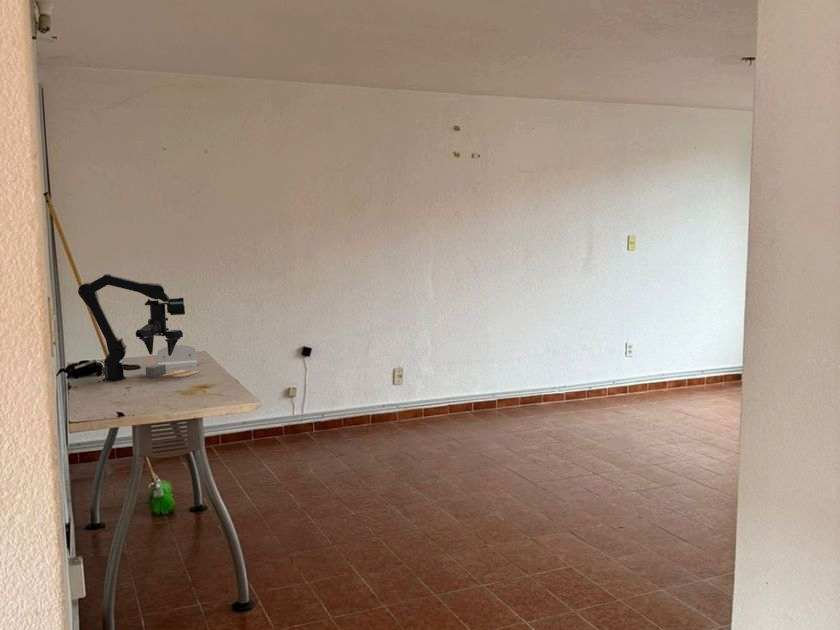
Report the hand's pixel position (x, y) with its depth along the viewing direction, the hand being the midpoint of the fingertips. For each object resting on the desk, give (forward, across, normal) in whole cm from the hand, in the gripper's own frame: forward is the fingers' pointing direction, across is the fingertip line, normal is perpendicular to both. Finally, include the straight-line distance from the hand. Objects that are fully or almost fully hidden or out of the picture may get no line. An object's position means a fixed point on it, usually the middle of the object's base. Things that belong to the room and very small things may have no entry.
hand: (160, 355), depth 315 cm
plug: (+6, -1, +1) cm, 7 cm away
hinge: (+9, -7, +18) cm, 21 cm away
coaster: (+8, +6, +4) cm, 11 cm away
